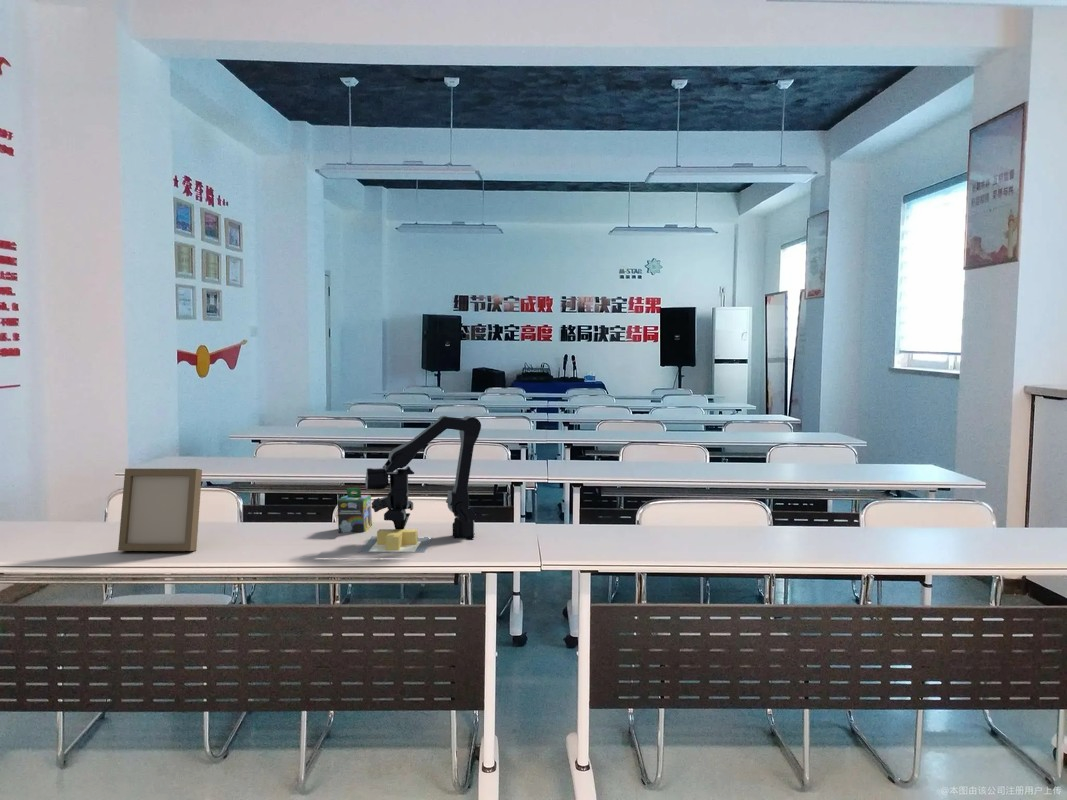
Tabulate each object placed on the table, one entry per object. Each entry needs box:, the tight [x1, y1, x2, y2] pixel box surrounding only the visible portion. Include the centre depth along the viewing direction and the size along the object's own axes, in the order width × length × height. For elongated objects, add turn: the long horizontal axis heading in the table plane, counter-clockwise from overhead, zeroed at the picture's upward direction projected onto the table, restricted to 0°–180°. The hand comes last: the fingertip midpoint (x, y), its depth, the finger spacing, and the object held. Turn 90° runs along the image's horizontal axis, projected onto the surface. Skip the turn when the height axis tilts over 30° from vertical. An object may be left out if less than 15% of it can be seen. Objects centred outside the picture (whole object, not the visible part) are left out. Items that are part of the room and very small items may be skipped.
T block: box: [376, 528, 418, 550], centre depth 251 cm, size 12×11×4 cm
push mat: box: [357, 535, 433, 554], centre depth 254 cm, size 20×21×1 cm
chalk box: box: [337, 487, 373, 533], centre depth 275 cm, size 9×9×15 cm
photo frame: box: [117, 468, 203, 552], centre depth 250 cm, size 15×22×25 cm
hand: (399, 537), depth 259 cm, fingers closed
